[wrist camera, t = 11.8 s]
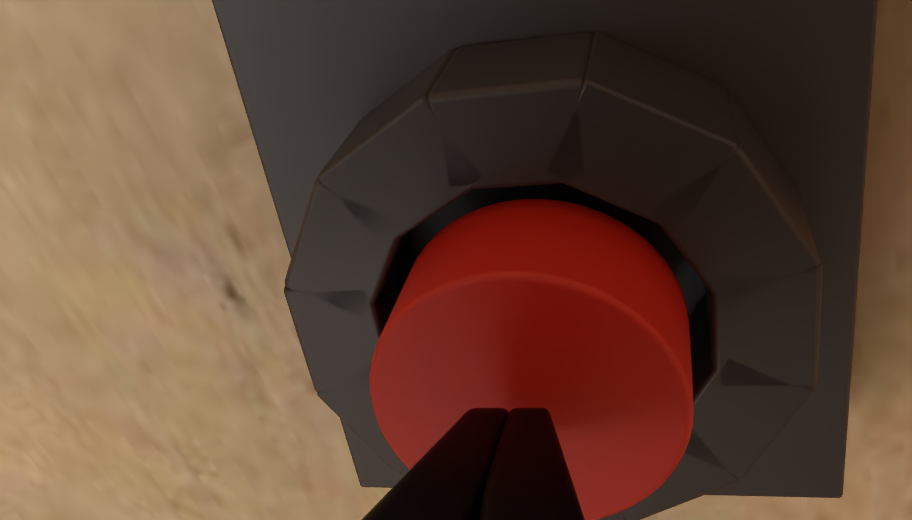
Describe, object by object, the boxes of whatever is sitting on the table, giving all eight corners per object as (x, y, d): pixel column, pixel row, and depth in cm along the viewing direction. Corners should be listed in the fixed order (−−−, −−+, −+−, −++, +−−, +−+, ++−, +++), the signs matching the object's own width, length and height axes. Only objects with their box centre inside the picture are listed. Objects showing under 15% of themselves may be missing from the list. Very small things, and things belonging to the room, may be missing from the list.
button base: (820, 406, 15) (866, 597, 12) (392, 408, 17) (327, 570, 14) (847, -148, 11) (934, -97, 7) (267, -59, 13) (130, 14, 9)
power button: (693, 430, 11) (699, 533, 10) (432, 429, 12) (402, 523, 11) (682, 185, 10) (688, 266, 8) (379, 205, 10) (334, 280, 9)
